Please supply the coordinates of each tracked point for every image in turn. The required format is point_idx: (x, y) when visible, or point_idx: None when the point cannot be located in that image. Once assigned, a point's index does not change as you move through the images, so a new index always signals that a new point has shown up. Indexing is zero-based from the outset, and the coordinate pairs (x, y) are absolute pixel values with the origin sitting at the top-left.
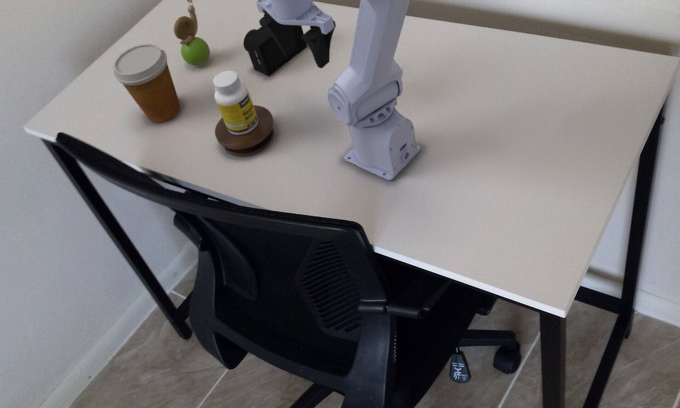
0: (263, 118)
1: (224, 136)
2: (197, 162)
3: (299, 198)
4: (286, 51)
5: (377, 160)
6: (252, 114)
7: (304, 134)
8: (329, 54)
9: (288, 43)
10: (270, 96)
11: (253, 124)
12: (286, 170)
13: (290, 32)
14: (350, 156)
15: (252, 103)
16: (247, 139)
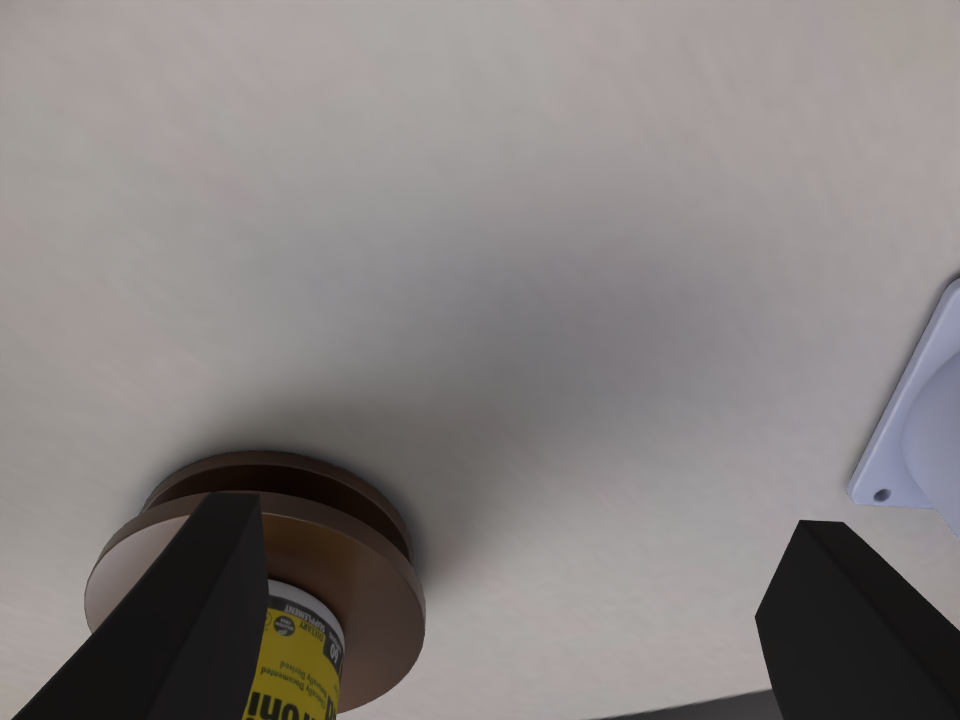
0: (324, 570)
1: None
2: None
3: (730, 668)
4: (258, 637)
5: None
6: (328, 699)
7: (542, 440)
8: (915, 593)
9: (229, 661)
10: (85, 282)
11: (341, 657)
12: (596, 608)
13: (162, 713)
14: (884, 486)
15: (285, 705)
16: (366, 676)
